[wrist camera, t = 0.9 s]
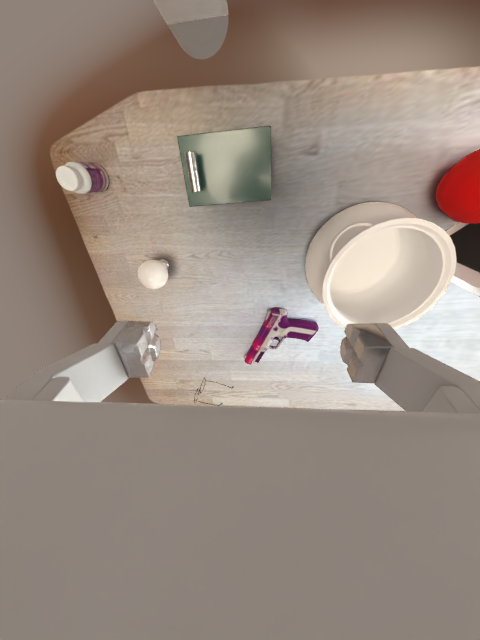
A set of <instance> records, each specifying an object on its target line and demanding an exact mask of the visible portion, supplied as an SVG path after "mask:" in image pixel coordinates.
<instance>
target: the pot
mask: <svg viewBox="0 0 480 640" xmlns="http://www.w3.org/2000/svg"><path fill="white" fill-rule="evenodd" d="M456 260H457V259H456V250H455V246H454V244H453V242H452V239H451V237H450V236H449V235H448V234H447V233H446V232H445V230H444V229H442V228H441V227H439V226H438V225H436V224H434V223H433V222H429V221H426V220H423V219H419V218H416V217H415V216H414V215H413V214H412V213H411V212H409V211H407V210H406V209H404V208H403V207H401V206H398V205H394V204H391V203H385V202H367V203H360V204H357V205H354V206H351V207H349V208H347V209H345V210H343V211H341V212H339V213H337V214H336V215H335V216H333V217H332V218H331V219H330V220H328V221H327V222H326V223H325V224H324V225H323V226H322V227H321V229H320V230H319V231H318V232H317V234H316V235H315V237H314V238H313V240H312V242H311V244H310V246H309V249H308V251H307V255H306V260H305V274H306V278H307V282H308V285H309V287H310V289H311V291H312V293H313V294H314V295H315V297H316V298H317V299H318V300H319V301H320V302H321V303H323V304H324V306H325V308H326V310H327V313H328V314H329V315H330V317H331V318H332V319H333V320H334V321H335V322H336V323H337V324H339V325H340V326H342V327H344V328H346V326H347V324H354V323H388V324H389V325H390V326H391V327H392V328H393V329H394V330H395V329H397V328H400V327H403V326H405V325H408V324H410V323H412V322H414V321H416V320H417V319H419V318H420V317H421V316H422V315H424V314H425V313H427V312H428V311H429V310H430V309H431V308H432V307H433V306H434V305H435V304H436V303H437V302H438V301H439V300H440V298H441V297H442V296H443V295H444V294H445V292H446V290H447V288H448V287H449V285H450V283H451V281H452V278H453V275H454V273H455V267H456Z"/></svg>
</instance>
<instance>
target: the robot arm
mask: <svg viewBox="0 0 480 640" xmlns="http://www.w3.org/2000/svg"><path fill="white" fill-rule="evenodd" d="M156 331H157V327H156V324H155V323H154V322H153V321H117V322H116V323H115V324H114V326H113V327H112V328H111V329H110V330H109V331H108V332H107V333H106V335H105V336H104V337H103V338H102V339H101V340H100V341H99V343H98V344H92V345H90V346H88V347H86V348H84V349H82V350H80V351H78V352H76V353H74V354H72V355H70V356H68V357H65V358H64V359H62V360H59V361H57V362H55V363H53V364H51V365H49V366H47V367H45V368H43V369H41V370H39V371H37V372H35V373H33V374H31V375H29V376H28V377H27V378H26V379H25V380H24V381H23V382H22V383H21V384H20V385H19V386H18V387H16V389H14V390H13V391H12V392H11V393H10V394H9V395H8V396H7V397H6V398H5V399H0V640H480V381H478V380H476V379H474V378H472V377H470V376H468V375H466V374H464V373H462V372H460V371H458V370H456V369H454V368H452V367H450V366H448V365H446V364H444V363H442V362H440V361H438V360H436V359H434V358H432V357H430V356H428V355H426V354H424V353H422V352H420V351H418V350H416V349H414V348H409V347H408V346H407V345H406V343H405V342H404V341H403V340H402V339H401V338H400V336H399V335H398V334H397V333H396V332H395V330H394V329H393V328H392V327H391V326H390V325H389V324H388V323H354V324H347V326H346V328H345V331H344V332H345V334H346V337H345V338H344V339H343V340H342V342H341V346H340V353H341V357H342V360H343V362H344V363H346V364H347V365H348V368H347V371H348V373H349V375H350V378H351V380H352V382H358V383H375V385H376V386H377V387H378V388H380V389H381V390H382V391H383V392H384V393H385V394H387V395H388V396H389V397H390V398H391V399H392V400H394V401H395V402H396V403H397V404H398V405H399V406H401V407H402V408H403V409H404V410H405V411H375V410H341V409H310V408H278V407H244V406H209V405H175V404H140V403H107V402H101V400H103V399H104V398H105V397H107V396H108V395H109V394H110V393H112V392H113V391H114V390H115V389H116V388H118V387H119V386H120V385H121V384H123V383H124V382H125V381H126V380H127V379H128V378H129V377H131V378H132V377H133V378H134V377H149V375H150V373H151V371H152V369H153V367H154V363H153V361H155V360H156V359H158V357H159V355H160V352H161V341H160V338H159V337H158V336H157V335H156V334H155V333H156Z"/></svg>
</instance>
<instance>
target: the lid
mask: <svg viewBox="0 0 480 640" xmlns="http://www.w3.org/2000/svg"><path fill="white" fill-rule="evenodd" d="M177 138H178V144H179V150H180V155H181V161H182V166H183V172H184V178H185V183H186V189H187V195H188V200H189V206H190V207H192V206H204V205H217V204H229V203H241V202H253V201H265V200H271V126H264V127H255V128H246V129H237V130H228V131H219V132H210V133H201V134H193V135H184V136H177Z"/></svg>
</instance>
